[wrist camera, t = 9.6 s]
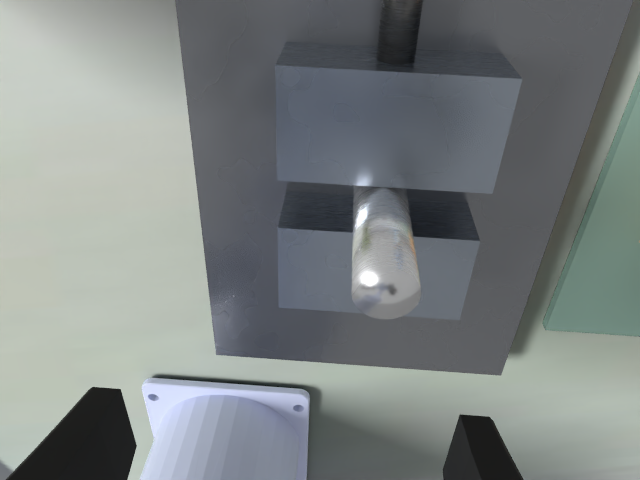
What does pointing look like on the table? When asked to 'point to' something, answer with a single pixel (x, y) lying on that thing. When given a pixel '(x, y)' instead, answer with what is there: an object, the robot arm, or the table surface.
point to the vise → (385, 168)
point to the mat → (606, 245)
